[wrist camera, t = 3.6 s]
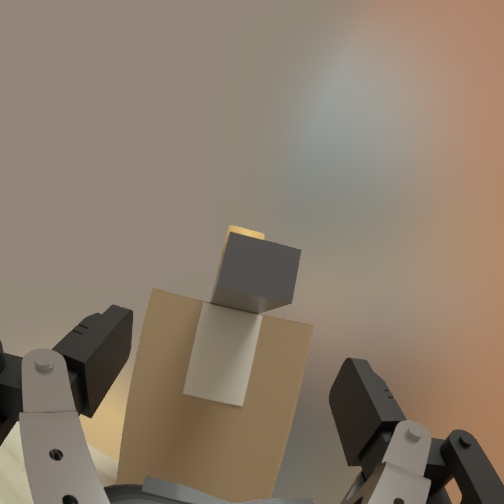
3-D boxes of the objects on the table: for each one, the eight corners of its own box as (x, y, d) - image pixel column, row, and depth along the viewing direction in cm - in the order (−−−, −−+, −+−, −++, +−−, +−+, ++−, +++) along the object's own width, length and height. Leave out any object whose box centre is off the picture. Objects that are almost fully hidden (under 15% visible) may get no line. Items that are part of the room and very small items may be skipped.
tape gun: (291, 303, 15) (315, 149, 18) (216, 285, 15) (256, 132, 18) (239, 319, 36) (255, 244, 39) (207, 311, 36) (226, 237, 39)
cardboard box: (239, 581, 15) (313, 324, 24) (113, 555, 14) (152, 287, 24) (232, 526, 28) (281, 328, 37) (137, 506, 27) (174, 303, 36)
